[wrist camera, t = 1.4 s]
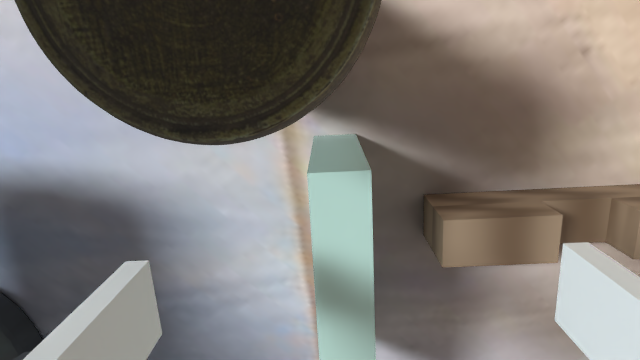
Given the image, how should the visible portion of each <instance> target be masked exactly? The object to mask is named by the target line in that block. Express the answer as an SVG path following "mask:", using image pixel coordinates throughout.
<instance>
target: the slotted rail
mask: <svg viewBox="0 0 640 360" xmlns="http://www.w3.org/2000/svg"><path fill="white" fill-rule="evenodd" d="M423 235H424V237H425V238H426V240H427V242H428V244H429V245H430V247H431V249H432V250H433V252H434V254H435V256H436V257H437V259H438V261H439V263H440V264H441V266H442V268H443V267H466V266H490V265H513V264H537V263H558V255H559V246H560V244H563V243H582V242H589V243H593V242H606V243H608V244H610V245H611V246H613V247H614V248H616V249H618V250H619V251H621V252H622V253H624V254H626V255H627V256H629V257H630V258H632V259H640V184H636V185H615V186H594V187H573V188H552V189H532V190H511V191H490V192H469V193H448V194H427V195H424V218H423Z"/></svg>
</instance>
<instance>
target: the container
mask: <svg viewBox="0 0 640 360" xmlns="http://www.w3.org/2000/svg"><path fill="white" fill-rule="evenodd" d="M15 2H16V4H17V7H18V9H19V11H20V13H21V15H22V17H23V19H24V21H25V23H26V25H27V27H28V29H29V31H30V32H31V34H32V36H33V37H34V39H35V40H36V42H37V44H38V45H39V47H40V48H41V49H42V51H43V52H44V54H45V55H46V56H47V58H48V59H49V60H50V61H51V63H52V64H53V65H54V66H55V68H56V69H57V70H58V71H59V72H60V73H61V74H62V75H63V76H64V77H65V78H66V79H67V80H68V81H69V82H70V83H71V84H72V85H73V86H74V87H75V88H76V89H77V90H78V91H79V92H80V93H82V94H83V95H84V96H85V97H87V98H88V99H89V100H90V101H92V102H93V103H94V104H96V105H97V106H99V107H100V108H102V109H103V110H105V111H106V112H108V113H109V114H111V115H112V116H114V117H115V118H117V119H119V120H121V121H123V122H125V123H127V124H128V125H130V126H132V127H135V128H137V129H139V130H142V131H144V132H147V133H149V134H152V135H155V136H158V137H161V138H164V139H169V140H173V141H177V142H183V143H190V144H199V145H227V144H234V143H241V142H246V141H250V140H254V139H257V138H261V137H264V136H266V135H269V134H272V133H274V132H277V131H279V130H281V129H283V128H285V127H287V126H289V125H291V124H293V123H294V122H296V121H298V120H299V119H301V118H302V117H303V116H305V115H306V114H308V113H309V112H310V111H312V110H313V109H314V108H316V107H317V106H318V105H319V104H320V103H321V102H323V101H324V100H325V99H326V98H327V97H328V96H329V95H330V94H331V93H332V92H333V91H334V90H335V89H336V88H337V87H338V85H339V84H340V83H341V82H342V81H343V80H344V78H345V77H346V76H347V74H348V73H349V71H350V70H351V68H352V67H353V65H354V64H355V62H356V60H357V59H358V57H359V55H360V53H361V51H362V50H363V48H364V46H365V43H366V41H367V39H368V37H369V35H370V32H371V30H372V28H373V25H374V23H375V20H376V17H377V14H378V11H379V8H380V4H381V0H15Z"/></svg>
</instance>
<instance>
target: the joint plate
mask: <svg viewBox="0 0 640 360" xmlns="http://www.w3.org/2000/svg"><path fill="white" fill-rule="evenodd" d="M307 177H308V192H309V208H310V223H311V238H312V253H313V269H314V284H315V299H316V314H317V330H318V345H319V360H376V354H375V309H374V265H373V221H372V176H371V168H370V166H369V164H368V161H367V159H366V157H365V154H364V152H363V150H362V147H361V145H360V143H359V141H358V138H357V136H356V134H346V135H327V136H314V139H313V145H312V150H311V156H310V161H309V166H308V172H307Z"/></svg>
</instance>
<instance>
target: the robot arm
mask: <svg viewBox="0 0 640 360" xmlns="http://www.w3.org/2000/svg"><path fill="white" fill-rule="evenodd" d="M555 321H556V323H557V324H558V325H559V326H560V327H561V328H562V329H563V330H564V332H565V333H566V334H567V335H568V336H569V337H570V338H571V339H572V341H573V342H574V343H575V344H576V345H577V346H578V347H579V348H580V350H581V351H582V352H583V353H584V354H585V355H586V356H587V357H588V358H589V360H640V277H639V276H637V275H636V274H635V273H633V272H632V271H630V270H629V269H627V268H626V267H624V266H623V265H621V264H620V263H618V262H617V261H615V260H614V259H612V258H611V257H609V256H608V255H606V254H605V253H603V252H602V251H600V250H599V249H598V248H596V247H595V246H593V245H592V244H590V243H589V242H582V243H563V249H562V258H561V267H560V276H559V285H558V294H557V303H556V312H555ZM161 335H162V329H161V324H160V319H159V313H158V308H157V302H156V297H155V291H154V286H153V280H152V275H151V269H150V264H149V260H146V261H125V262H124V263H123V264H122V265H121V266H120V267H119V268H118V269H117V270H116V271H115V272H114V273H113V274H112V275H111V276H110V277H109V278H108V279H107V280H106V281H105V282H103V283H102V284H101V285H100V286H99V287H98V288H97V289H96V290H95V291H94V292H93V293H92V294H91V295H90V296H89V297H88V298H87V299H86V300H85V301H84V302H83V303H81V304H80V305H79V306H78V307H77V308H76V309H75V310H74V311H73V312H72V313H71V314H70V315H69V316H68V317H67V318H66V319H65V320H64V321H63V322H62V323H61V324H59V325H58V326H57V327H56V328H55V329H54V330H53V331H52V332H51V333H50V334H49V335H48V336H47V337H46V338H45V339H44V340H43V341H42V339H41V337H40V335H39V333H38V331H37V330H36V328H35V327H34V325H33V324H32V322H31V321H30V320H29V318H28V317H27V316H26V315H25V314H24V313H23V311H22V310H21V309H20V308H19V307H18V306H17V305H15V304H14V303H13V302H12V301H11V300H10V299H8V298H7V297H6V296H4V295H3V294H1V293H0V360H146V359H147V358H148V356H149V355H150V353H151V351H152V350H153V348H154V347H155V345H156V343H157V342H158V340H159V339H160V337H161Z"/></svg>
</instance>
